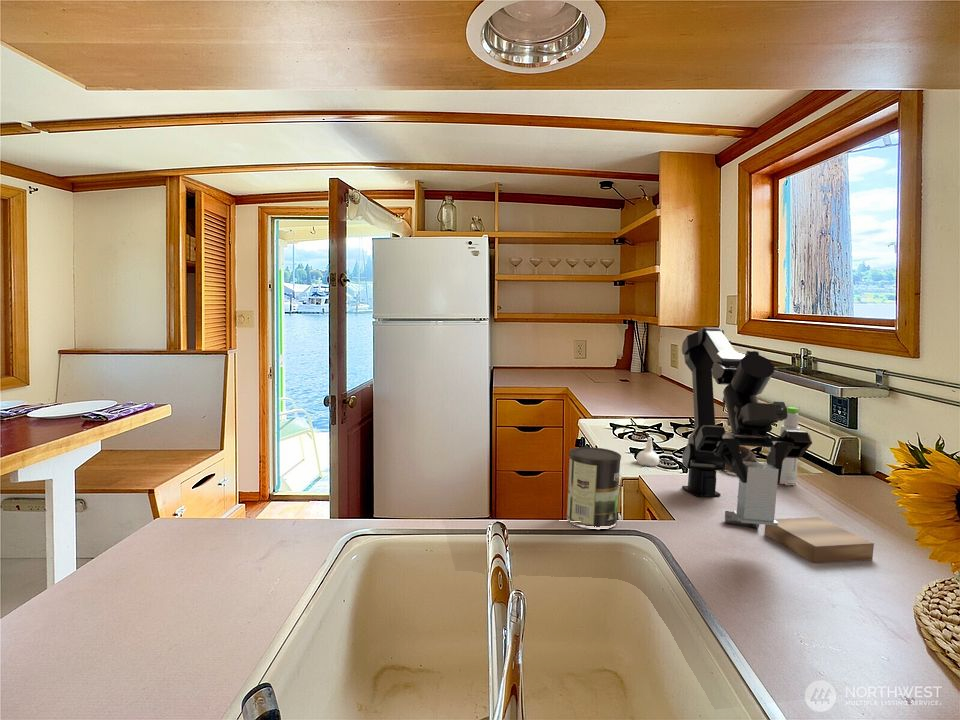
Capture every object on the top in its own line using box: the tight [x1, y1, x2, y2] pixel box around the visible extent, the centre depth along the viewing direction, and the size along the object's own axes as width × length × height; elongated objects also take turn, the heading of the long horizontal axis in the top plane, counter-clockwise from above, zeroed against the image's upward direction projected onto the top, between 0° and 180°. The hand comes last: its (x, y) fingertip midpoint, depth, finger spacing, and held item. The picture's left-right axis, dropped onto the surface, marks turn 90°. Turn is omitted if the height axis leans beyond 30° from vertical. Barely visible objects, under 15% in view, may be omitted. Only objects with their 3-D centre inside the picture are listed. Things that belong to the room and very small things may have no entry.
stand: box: [763, 516, 875, 564], centre depth 96 cm, size 12×12×3 cm
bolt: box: [724, 510, 760, 529], centre depth 105 cm, size 6×4×4 cm, turn 70°
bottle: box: [779, 406, 801, 486], centre depth 134 cm, size 4×4×20 cm
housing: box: [732, 461, 779, 526], centre depth 92 cm, size 4×6×10 cm
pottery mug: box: [724, 446, 758, 471], centre depth 146 cm, size 12×10×8 cm
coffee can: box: [566, 446, 622, 527], centre depth 105 cm, size 10×10×14 cm
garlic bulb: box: [636, 436, 660, 467], centre depth 148 cm, size 6×6×8 cm
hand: (761, 483), depth 90 cm, fingers closed on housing, 5 cm apart
